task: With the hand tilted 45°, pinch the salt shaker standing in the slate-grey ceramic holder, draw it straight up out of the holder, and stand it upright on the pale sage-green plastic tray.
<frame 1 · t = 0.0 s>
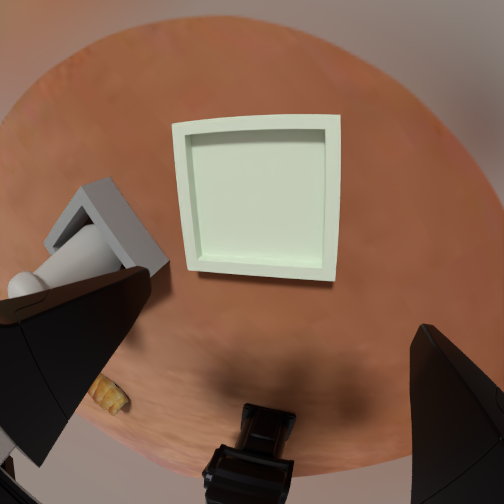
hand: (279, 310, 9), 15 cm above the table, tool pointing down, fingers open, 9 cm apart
tray: (260, 194, 23), on the table
holder: (111, 243, 29), on the table
pastry: (109, 386, 42), on the table
salt shaker: (112, 243, 29), resting in holder
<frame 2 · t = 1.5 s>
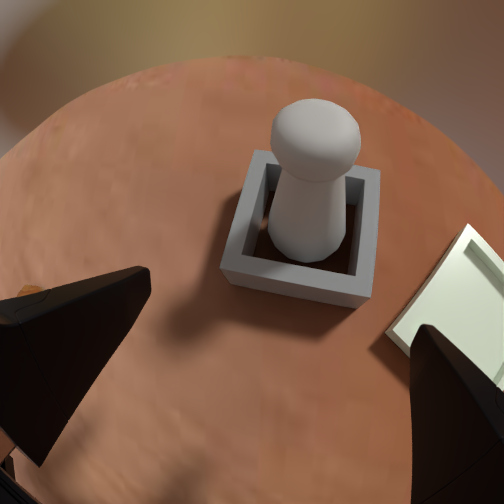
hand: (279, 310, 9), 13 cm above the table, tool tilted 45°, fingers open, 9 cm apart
tray: (471, 324, 20), on the table
holder: (305, 237, 24), on the table
salt shaker: (305, 238, 24), resting in holder
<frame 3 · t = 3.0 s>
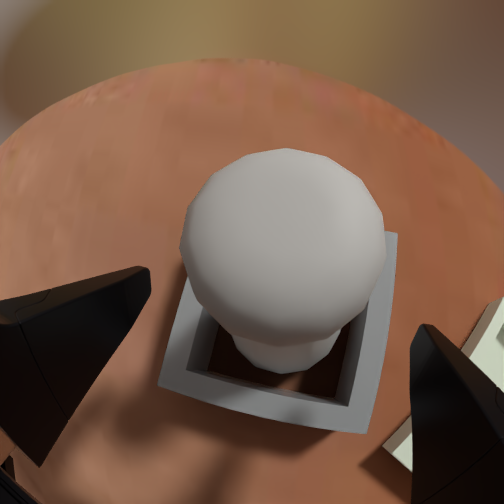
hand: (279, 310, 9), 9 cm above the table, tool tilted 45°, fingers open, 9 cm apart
tray: (489, 421, 13), on the table
holder: (285, 323, 17), on the table
salt shaker: (285, 323, 17), resting in holder
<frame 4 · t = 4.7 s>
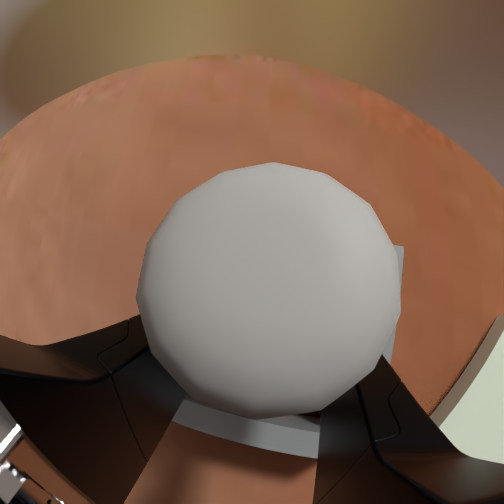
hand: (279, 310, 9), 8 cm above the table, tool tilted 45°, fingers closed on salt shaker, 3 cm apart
tray: (492, 439, 11), on the table
holder: (280, 341, 16), on the table
salt shaker: (280, 341, 16), resting in holder, touching gripper
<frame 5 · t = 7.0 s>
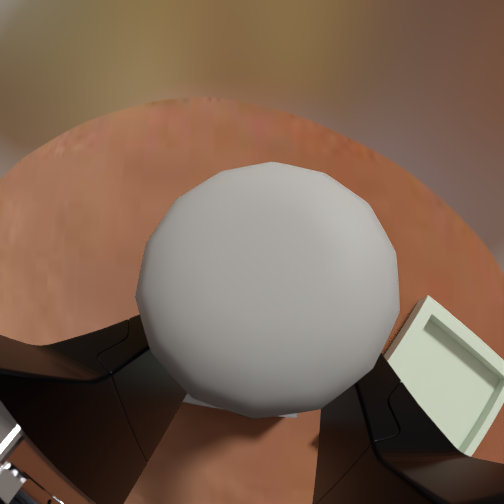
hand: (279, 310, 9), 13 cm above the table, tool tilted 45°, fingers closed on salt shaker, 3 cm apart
tray: (430, 403, 18), on the table
salt shaker: (280, 340, 16), point 5 cm above the table, touching gripper
when the fingers open (10 cm above the table, at t = 9.6 s): salt shaker stays where it is, resting on tray.
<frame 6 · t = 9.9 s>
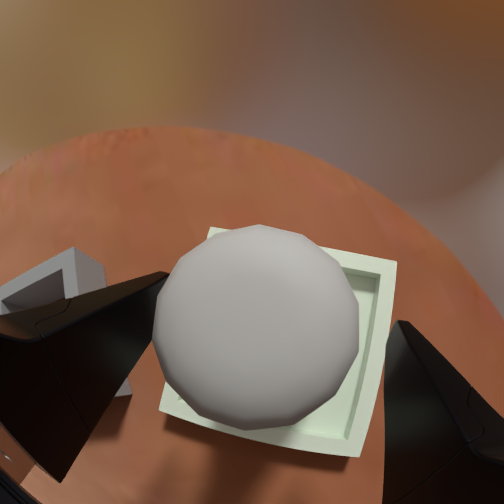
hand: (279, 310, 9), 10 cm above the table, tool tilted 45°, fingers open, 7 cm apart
tray: (283, 343, 18), on the table
holder: (66, 343, 19), on the table
salt shaker: (278, 348, 17), point 1 cm above the table, touching tray
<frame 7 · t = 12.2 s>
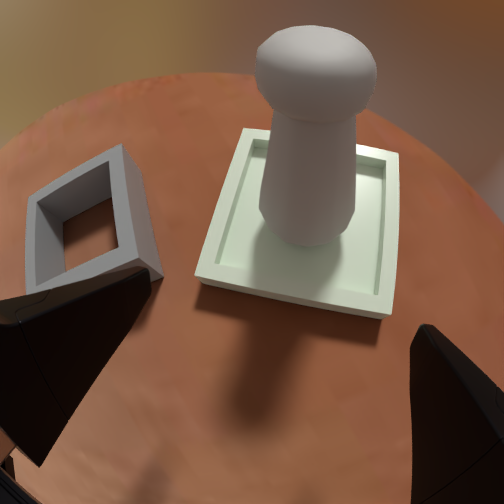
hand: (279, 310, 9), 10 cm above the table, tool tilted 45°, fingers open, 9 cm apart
tray: (308, 218, 21), on the table
holder: (97, 242, 22), on the table
salt shaker: (305, 219, 20), point 1 cm above the table, touching tray
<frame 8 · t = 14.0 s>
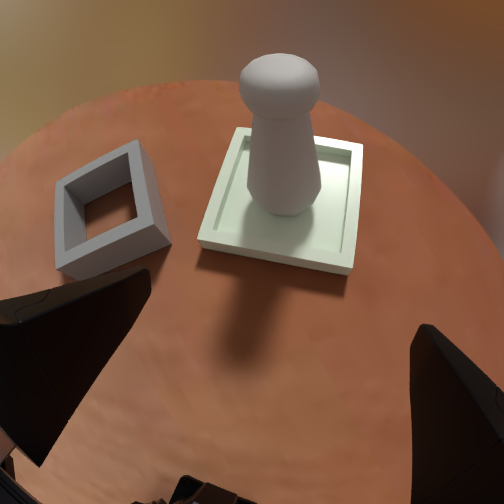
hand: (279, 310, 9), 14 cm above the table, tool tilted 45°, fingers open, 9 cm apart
tray: (288, 197, 26), on the table
holder: (116, 219, 27), on the table
salt shaker: (284, 197, 25), point 1 cm above the table, touching tray
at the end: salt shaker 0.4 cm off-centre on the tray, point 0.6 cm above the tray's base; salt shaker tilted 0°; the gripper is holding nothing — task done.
